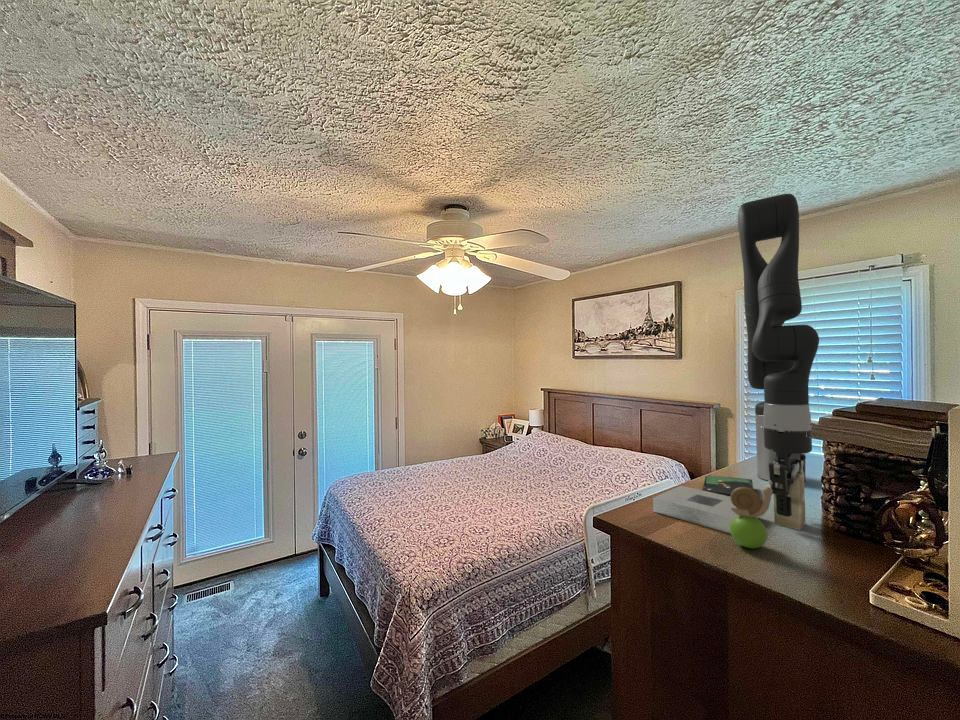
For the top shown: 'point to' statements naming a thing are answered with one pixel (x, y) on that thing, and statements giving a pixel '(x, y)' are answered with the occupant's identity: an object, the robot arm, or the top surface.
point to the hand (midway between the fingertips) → (789, 510)
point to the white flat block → (697, 507)
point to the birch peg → (793, 506)
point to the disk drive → (725, 484)
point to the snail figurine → (749, 516)
